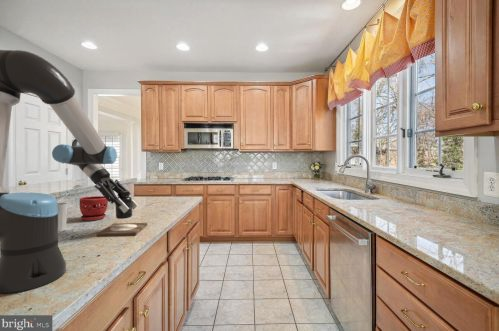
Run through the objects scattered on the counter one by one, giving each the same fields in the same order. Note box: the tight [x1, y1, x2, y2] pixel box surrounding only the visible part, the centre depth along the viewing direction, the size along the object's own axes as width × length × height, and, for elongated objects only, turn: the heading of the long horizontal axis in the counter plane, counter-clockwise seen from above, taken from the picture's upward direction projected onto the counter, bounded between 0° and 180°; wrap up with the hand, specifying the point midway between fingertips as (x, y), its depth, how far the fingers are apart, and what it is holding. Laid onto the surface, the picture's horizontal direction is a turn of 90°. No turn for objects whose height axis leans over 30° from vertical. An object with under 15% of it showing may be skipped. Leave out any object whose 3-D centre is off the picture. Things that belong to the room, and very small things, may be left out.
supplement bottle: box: [114, 190, 133, 220], centre depth 110 cm, size 7×7×12 cm
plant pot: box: [79, 195, 109, 222], centre depth 131 cm, size 13×13×12 cm
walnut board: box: [95, 222, 148, 237], centre depth 110 cm, size 16×16×2 cm
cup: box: [57, 202, 69, 232], centre depth 111 cm, size 8×8×12 cm
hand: (131, 208), depth 110 cm, fingers closed on supplement bottle, 7 cm apart
